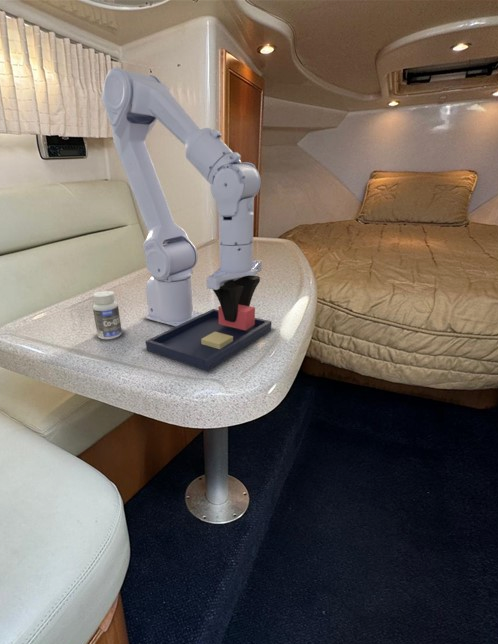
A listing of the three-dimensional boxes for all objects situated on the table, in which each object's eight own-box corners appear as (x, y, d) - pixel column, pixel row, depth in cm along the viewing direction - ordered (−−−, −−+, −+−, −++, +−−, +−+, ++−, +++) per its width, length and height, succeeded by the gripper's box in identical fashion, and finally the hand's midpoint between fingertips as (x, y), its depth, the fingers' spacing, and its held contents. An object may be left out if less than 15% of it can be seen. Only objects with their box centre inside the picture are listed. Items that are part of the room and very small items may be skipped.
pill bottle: (107, 342, 68) (99, 299, 64) (93, 336, 71) (85, 294, 68) (127, 333, 71) (121, 292, 67) (112, 328, 74) (106, 288, 71)
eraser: (218, 324, 69) (218, 306, 68) (228, 319, 71) (227, 302, 70) (245, 330, 65) (245, 312, 64) (254, 325, 68) (255, 307, 66)
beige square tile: (201, 344, 63) (200, 338, 63) (214, 336, 66) (214, 331, 65) (219, 349, 61) (219, 344, 60) (233, 341, 63) (233, 336, 63)
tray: (146, 350, 64) (145, 340, 63) (213, 316, 77) (213, 308, 76) (208, 371, 55) (207, 361, 55) (271, 330, 68) (271, 321, 68)
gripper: (231, 252, 55) (231, 335, 61) (277, 237, 64) (274, 310, 70) (195, 249, 59) (199, 326, 65) (243, 235, 69) (243, 304, 74)
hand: (235, 317), depth 68 cm, fingers closed on eraser, 3 cm apart
